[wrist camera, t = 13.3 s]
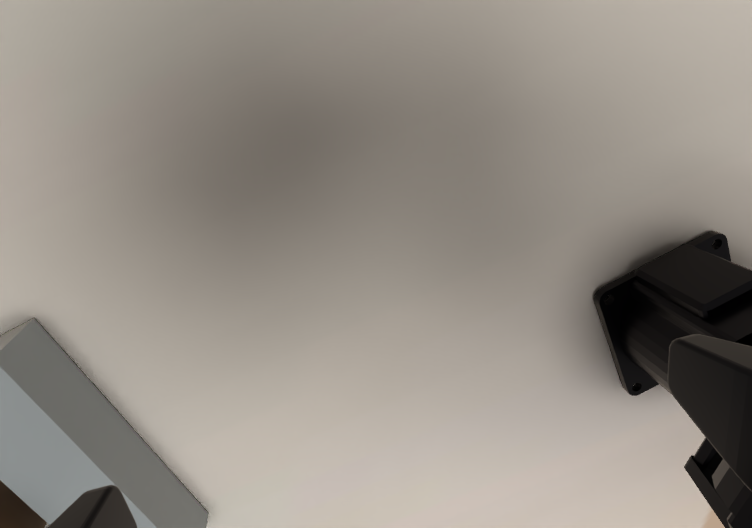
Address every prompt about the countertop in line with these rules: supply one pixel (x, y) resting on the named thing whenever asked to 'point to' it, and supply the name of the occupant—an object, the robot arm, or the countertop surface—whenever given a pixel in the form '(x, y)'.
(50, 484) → the socket
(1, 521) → the peg
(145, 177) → the countertop surface
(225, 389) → the countertop surface
